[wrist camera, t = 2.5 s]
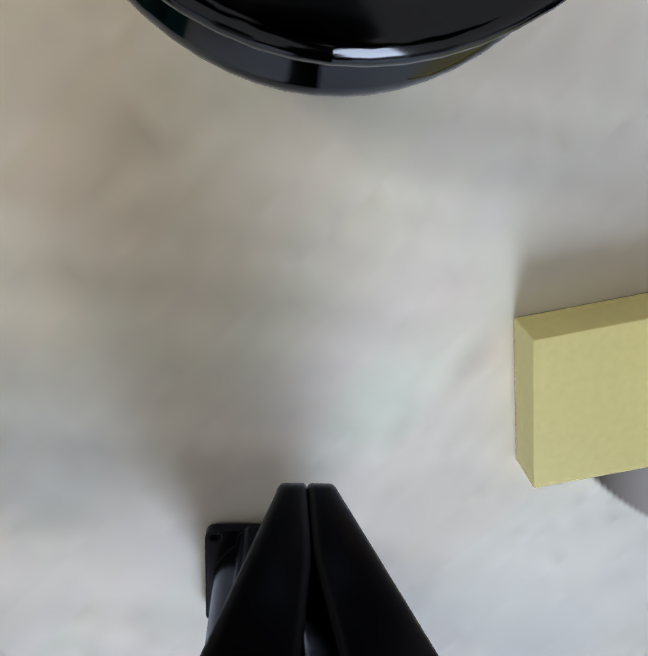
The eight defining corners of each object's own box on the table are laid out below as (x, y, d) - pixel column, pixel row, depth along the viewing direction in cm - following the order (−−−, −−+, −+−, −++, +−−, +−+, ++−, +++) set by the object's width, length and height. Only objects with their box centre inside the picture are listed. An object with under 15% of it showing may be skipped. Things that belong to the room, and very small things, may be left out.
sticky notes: (673, 429, 25) (703, 457, 24) (515, 459, 26) (533, 488, 24) (694, 282, 22) (731, 302, 20) (513, 317, 22) (533, 339, 20)
